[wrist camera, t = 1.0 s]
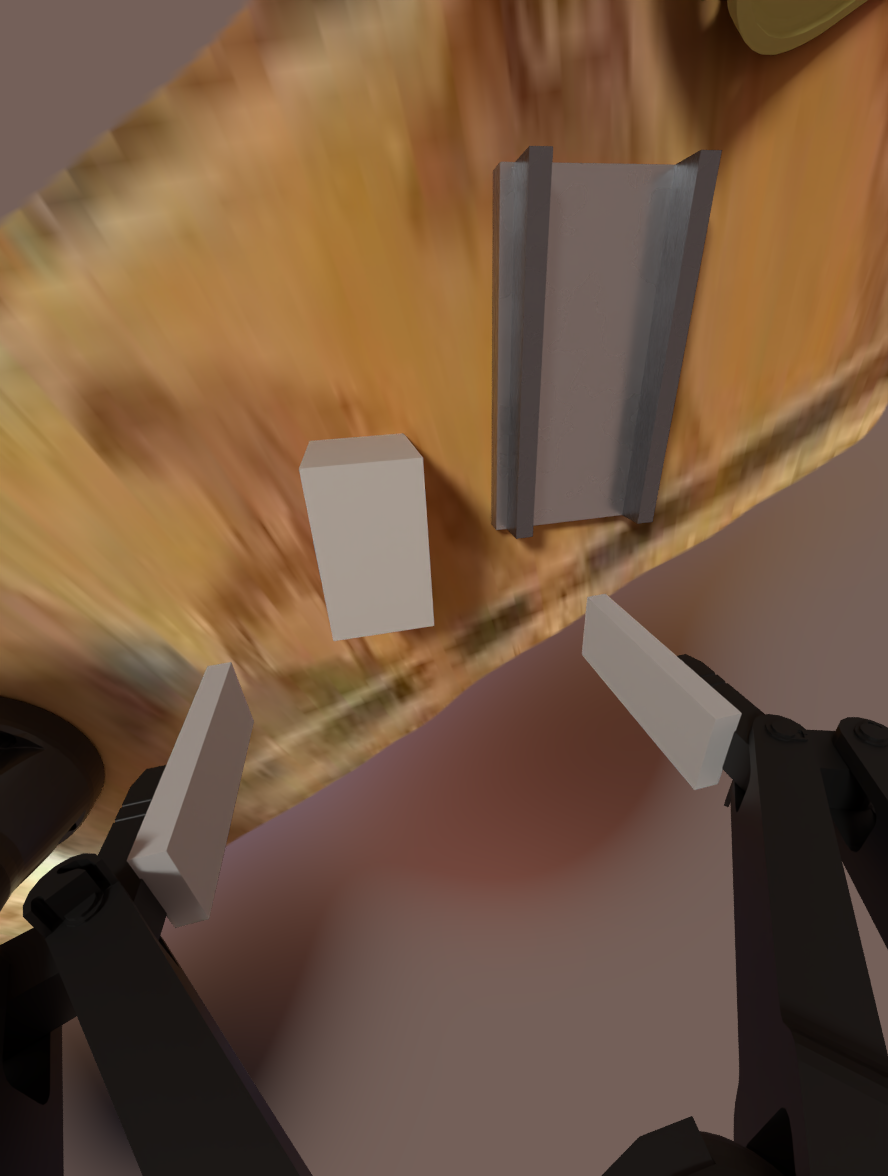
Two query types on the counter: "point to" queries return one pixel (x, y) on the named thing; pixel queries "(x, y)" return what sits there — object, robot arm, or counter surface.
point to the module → (369, 533)
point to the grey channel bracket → (589, 331)
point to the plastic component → (785, 21)
